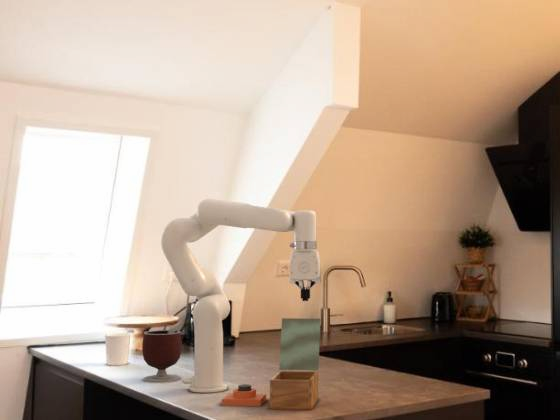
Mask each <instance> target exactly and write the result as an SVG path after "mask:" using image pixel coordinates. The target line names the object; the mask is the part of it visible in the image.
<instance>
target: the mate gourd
mask: <svg viewBox="0 0 560 420" xmlns="http://www.w3.org/2000/svg"><path fill="white" fill-rule="evenodd" d="M181 324H182V323H181V322H180V321H179V322H177V323H176V324H173V325H172V326H171V327H170V328H169V329H161V330H160V329H159V330H148V331H143V337H142V343H141V345H142V346H141V347H142V348H141V351H142V357H143V360H144V362H145V363H146V364H147V366H149V367H152V368H154V369H156V370H157V372H156V374H152V375H147V376H144V377H143V381H144V382H147V383H167V382H174V381H175V382H176V381H177V380H180V376H179V375H177V374H169V373H168V372H167V369H169V368H170V367H172V366H174V365H176V364H177V363H178V361H179V360H180V357H181V356H182V355H181V354H182V350H183V349H182V348H183V347H182V346H183V342H182V336H181V335H182V334H181V331H180V330H177V328H178V326H179V325H181Z"/></svg>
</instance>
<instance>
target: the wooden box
mask: <svg viewBox="0 0 560 420" xmlns="http://www.w3.org/2000/svg"><path fill="white" fill-rule="evenodd" d="M318 401H319V370H279V371H278V372H277V373H276V374H275V375H274V376H273V377H272V378H270V379H269V410H295V411H296V410H298V411H299V410H300V411H302V410H303V411H304V410H305V411H306V410H307V411H312V410H313V408H314V406H315V405H316V403H317V402H318Z"/></svg>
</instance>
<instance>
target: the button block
mask: <svg viewBox="0 0 560 420" xmlns="http://www.w3.org/2000/svg"><path fill="white" fill-rule="evenodd" d="M266 401H267V393H257V389H256V388H254V387H251V391H238V388H234V389H233V390H232V392H229V393H228V394H226V395H225V396H224V397H223V398H222V399H221V406H223V407H226V406H227V407H229V406H231V407H237V406H238V407H261V406H262V405H263V404H264V403H265V402H266Z"/></svg>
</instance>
